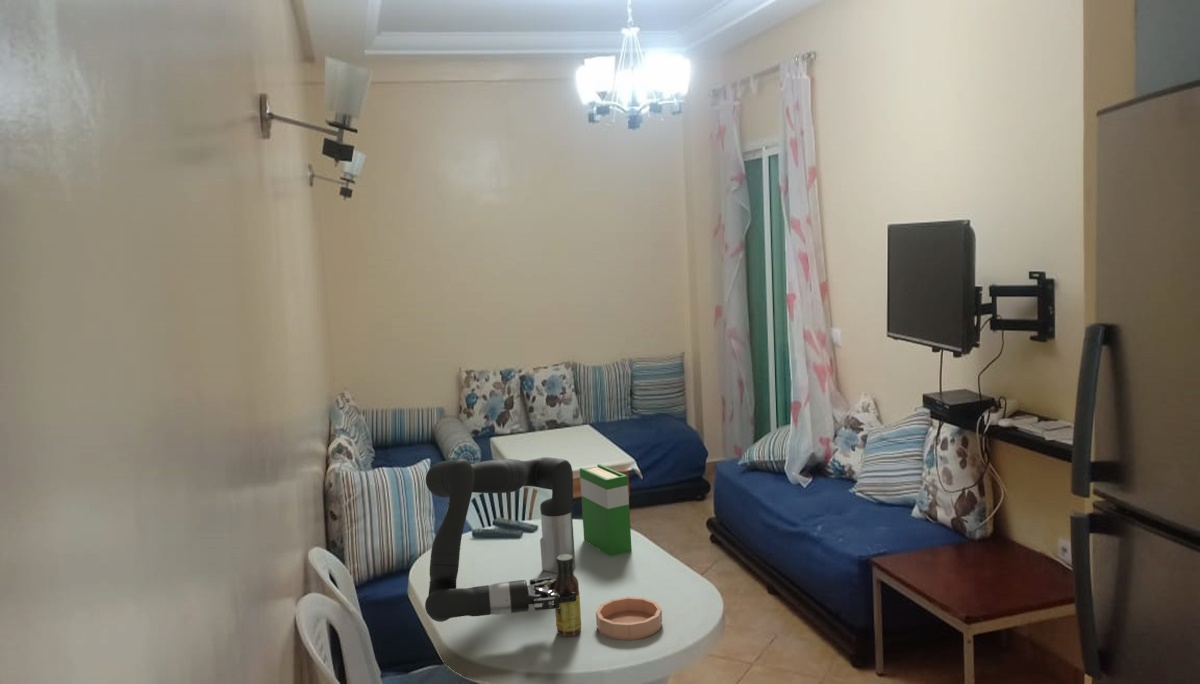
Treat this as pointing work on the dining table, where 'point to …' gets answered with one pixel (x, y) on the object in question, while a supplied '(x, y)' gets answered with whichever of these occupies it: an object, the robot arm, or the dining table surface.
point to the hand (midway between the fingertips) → (573, 589)
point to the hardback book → (606, 509)
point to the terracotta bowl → (629, 618)
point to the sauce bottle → (570, 611)
